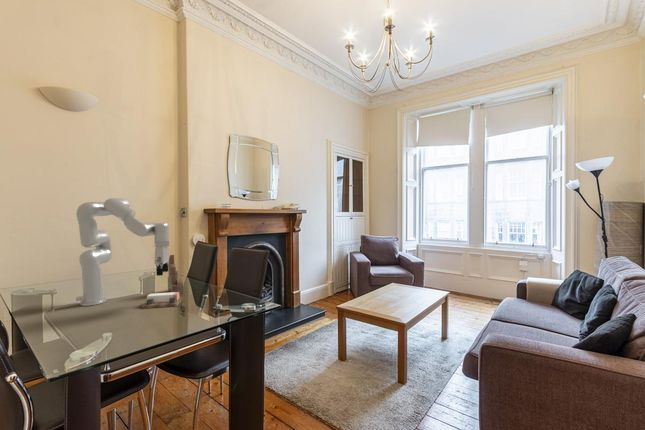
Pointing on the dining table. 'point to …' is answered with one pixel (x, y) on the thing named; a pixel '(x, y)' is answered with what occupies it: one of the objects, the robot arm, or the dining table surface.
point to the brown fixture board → (162, 303)
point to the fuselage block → (163, 296)
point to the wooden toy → (174, 277)
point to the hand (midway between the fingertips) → (162, 273)
